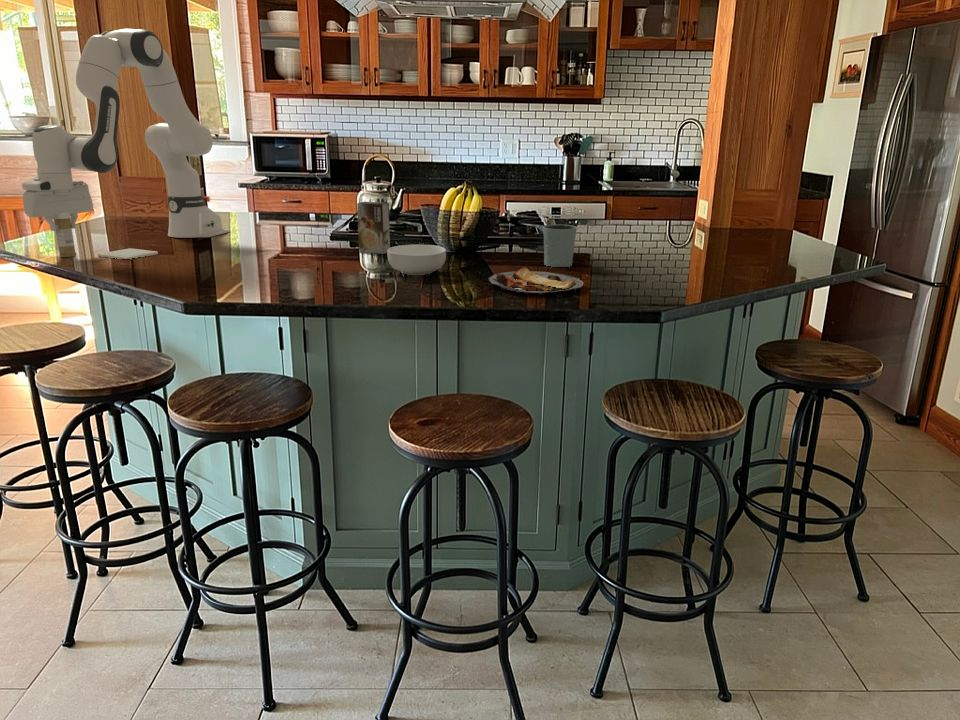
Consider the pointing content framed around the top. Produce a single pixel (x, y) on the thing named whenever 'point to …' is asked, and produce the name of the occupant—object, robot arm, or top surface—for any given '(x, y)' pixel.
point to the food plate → (534, 281)
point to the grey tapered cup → (559, 245)
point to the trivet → (128, 253)
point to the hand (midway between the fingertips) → (63, 229)
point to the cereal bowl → (416, 258)
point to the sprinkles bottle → (64, 235)
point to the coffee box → (373, 227)
